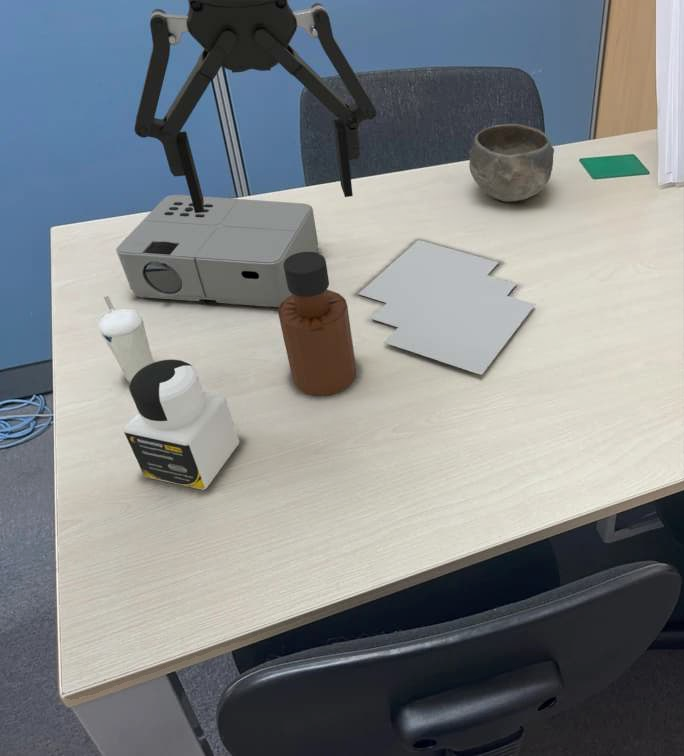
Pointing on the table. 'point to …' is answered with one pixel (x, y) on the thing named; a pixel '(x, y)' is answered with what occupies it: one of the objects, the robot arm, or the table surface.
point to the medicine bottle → (179, 425)
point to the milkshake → (126, 339)
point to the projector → (217, 250)
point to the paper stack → (447, 306)
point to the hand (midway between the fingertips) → (275, 198)
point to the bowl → (511, 161)
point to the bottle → (318, 342)
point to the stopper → (306, 274)
